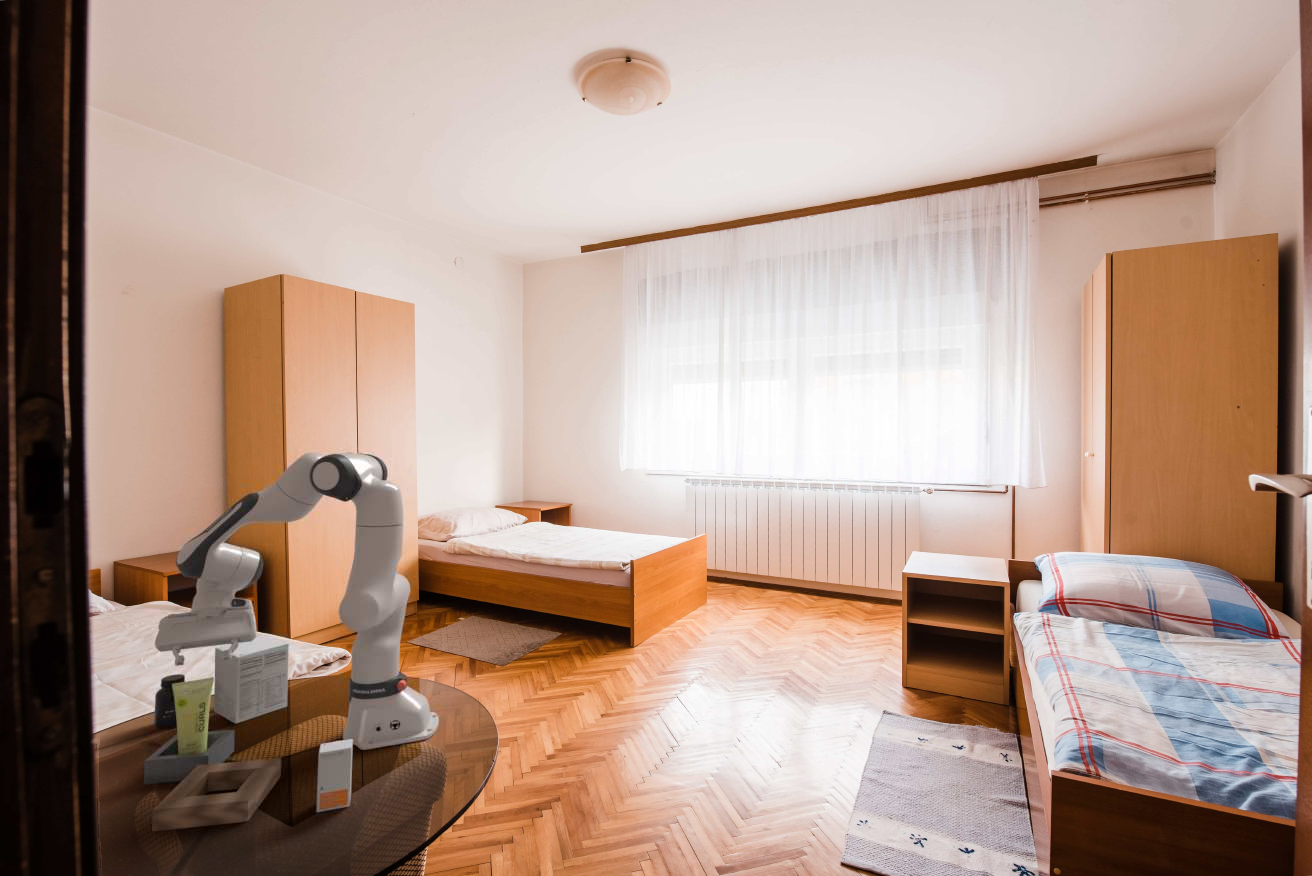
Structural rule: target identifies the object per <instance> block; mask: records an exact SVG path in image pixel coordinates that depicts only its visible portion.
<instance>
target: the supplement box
mask: <svg viewBox="0 0 1312 876" xmlns="http://www.w3.org/2000/svg"><path fill="white" fill-rule="evenodd" d="M289 645H290V644H289V643H286V642H285V641H282V640H279V639H276V638H274V637H271V636H268V635H262V636H259V637H258V636H256V638H255V639H254V640H253V641H251V642H242V643H239V645H238V647H237V648H236V650H235V651H234V652H233V653H232V657H231V659H227V660H224V658H223V655H224V650H228V649H229V648H230V647H231V646H232V645H231V644H225V645H219V646H217V647H216V646H215V647H214V690H213V691H214V692H213V693H214V695H213V696H214V699H213V702H214V703H213V712H214V713H215V714H218V715H219V716H221V717H223V718H225V719H226V720H228V721H230V722H231V723H234V724H239V723H242V722H245V721H248V720H251V719H254V718H257V717H260V716H263V715H266V714H268V713H272V712H275V711H277V710H280V709H284V708H287V707H288V687H289V686H288V681H289V678H288V677H289V647H290V646H289Z"/></svg>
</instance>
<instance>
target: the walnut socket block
mask: <svg viewBox="0 0 1312 876" xmlns="http://www.w3.org/2000/svg"><path fill="white" fill-rule="evenodd" d="M281 769H282V758H281V757H279V758H267V759H266V758H265V759H256V760H255V759H254V760H246V761H245V760H244V761H232V762H231V761H229V762H223V763H219V764H207V765H198V766H197V767H196V768H195V769H194V770H193V771H192V772H191V773H190V774H189V775H188V776H187V777H186V778H185V779H184V780H183V781H180V782H179V783H178V784H177V785H176V786H175V787H174V789H172V791H170V792H169V793H168V794H167V795H166V796H165V797H164V798H163V799H162V800H161V801H160V802H159V803H158V804H157V805H156V806H155V807H153V809H152V824H151V827H152V830H151V832H159V831H160V832H161V831H168V830H169V831H170V830H177V829H178V830H179V829H187V828H197V827H206V826H216V825H225V824H235V823H243V822H248V821H249V820H250V819H251V818H252V817H253V815H254V813H255V812H256V811H257V809H258V808H259V806H260V805H261V804H262V803H263V801H264V800H265V798H266V797H267V796H268V794H269V793H270V791H271V790H272V789H273V788H274V787H275V785H276V784H277V782H278V781H279V779H280V778H281V774H282V770H281ZM228 790H237V791H236V792H235V791H233V792H224V793H214V794H207V793H208V792H218V791H228Z"/></svg>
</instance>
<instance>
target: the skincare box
mask: <svg viewBox="0 0 1312 876" xmlns="http://www.w3.org/2000/svg"><path fill="white" fill-rule="evenodd" d="M319 745H320V746H319V750H318V758H317V759H318V762H317V764H318V765H317V786H316V788H317V789H316V813H321V812H326V811H330V810H331V811H332V810H336V809H342V808H348V807H350V804H351V799H352V797H351V796H352V780H353V779H352V771H353V746H354V745H353V739H349V740H344V739H342V740H336V741H335V740H334V741H332V742H325V743H320V744H319Z"/></svg>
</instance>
